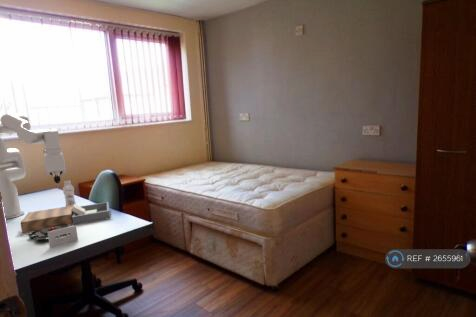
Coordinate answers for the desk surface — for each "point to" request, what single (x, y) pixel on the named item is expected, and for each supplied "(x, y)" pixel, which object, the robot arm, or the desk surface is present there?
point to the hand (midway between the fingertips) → (57, 182)
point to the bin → (101, 213)
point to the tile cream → (78, 209)
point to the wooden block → (46, 219)
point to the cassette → (62, 240)
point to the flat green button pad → (43, 235)
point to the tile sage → (90, 211)
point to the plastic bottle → (68, 193)
